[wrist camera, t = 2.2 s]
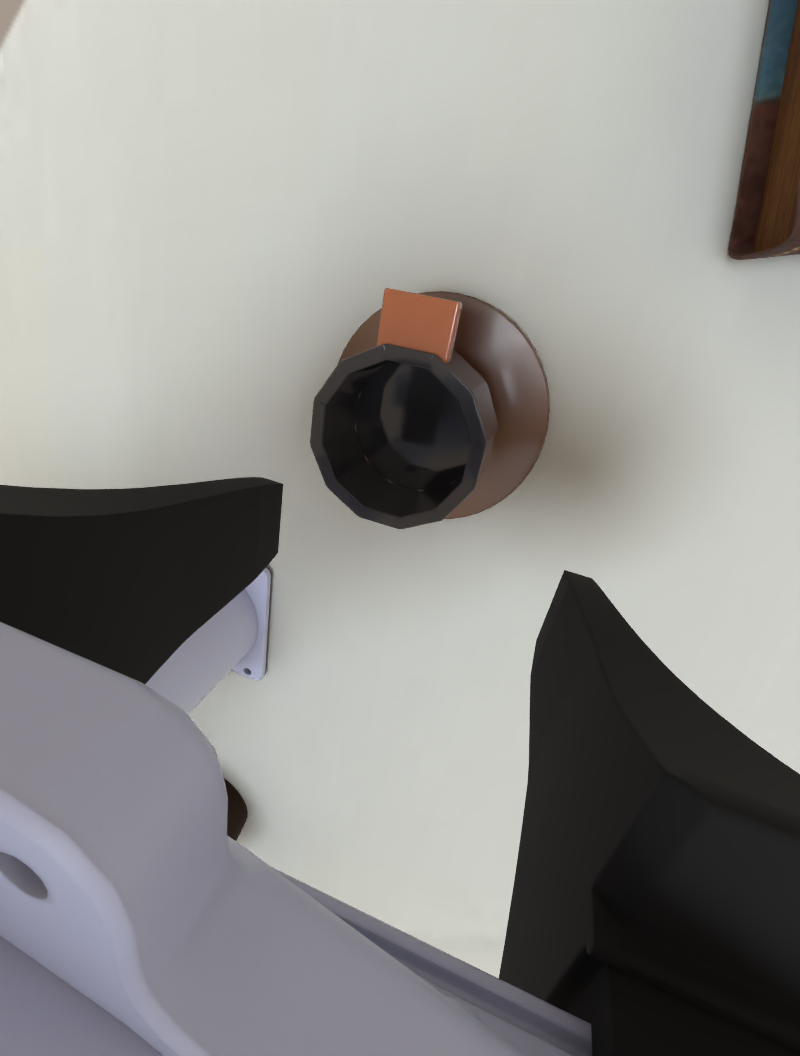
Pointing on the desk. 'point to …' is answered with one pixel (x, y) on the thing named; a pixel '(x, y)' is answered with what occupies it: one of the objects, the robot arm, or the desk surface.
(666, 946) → the robot arm
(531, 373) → the brown flat disc
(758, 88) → the book
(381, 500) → the dark grey cup
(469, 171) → the desk surface
